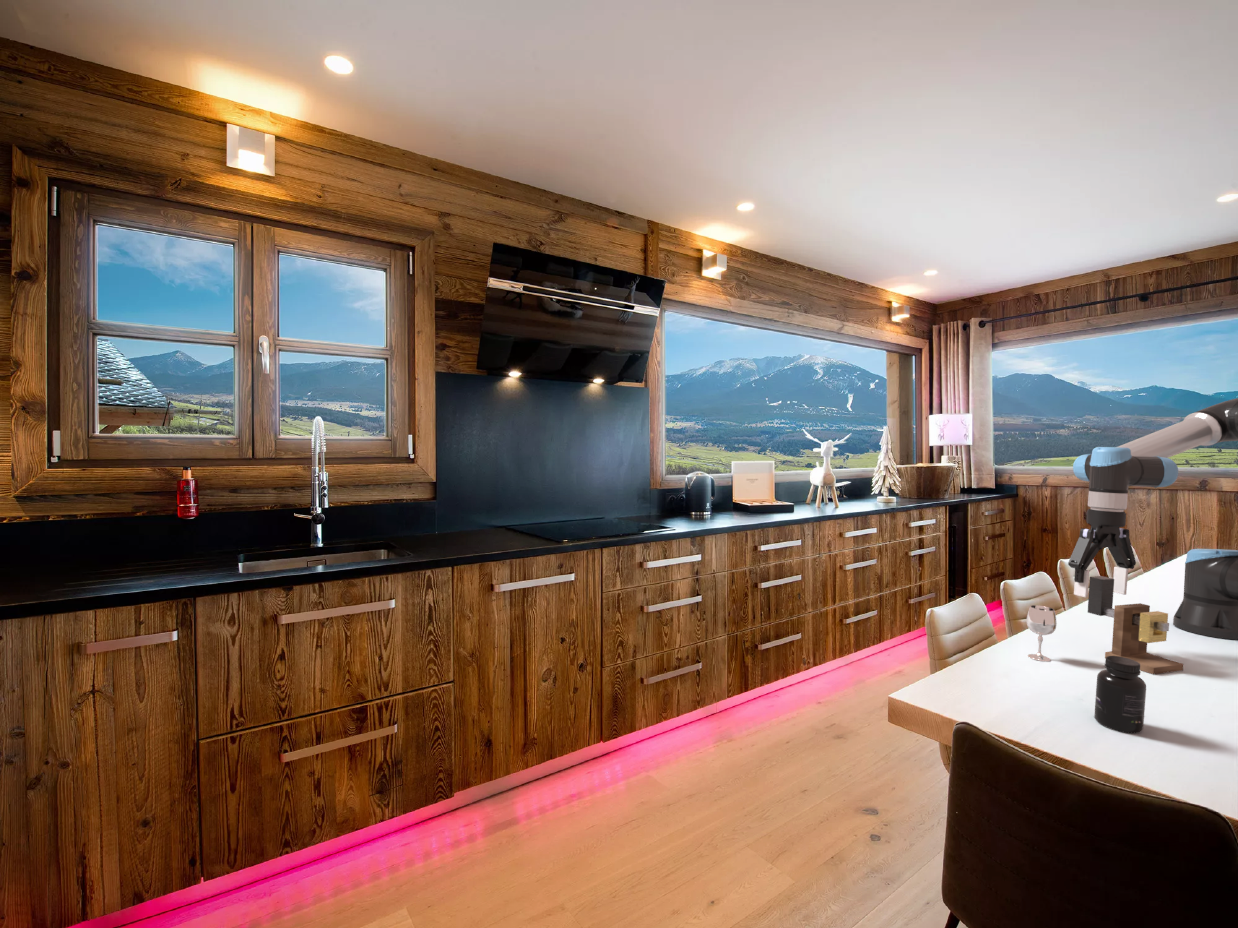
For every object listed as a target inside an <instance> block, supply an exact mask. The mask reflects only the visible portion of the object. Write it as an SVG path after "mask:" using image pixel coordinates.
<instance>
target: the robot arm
mask: <svg viewBox="0 0 1238 928" xmlns="http://www.w3.org/2000/svg"><path fill="white" fill-rule="evenodd" d="M1223 442H1238V398H1231V399H1228V400H1225V401H1222V402H1218V403H1216V404H1213V405H1211V406H1208V407H1205V408H1202V409H1200V410H1197V411H1195V412H1193V413H1189V414H1188V415H1186V416H1185V417H1184V419H1183V420H1182V421H1179V422H1177V423H1175V424H1172V425H1170V426H1166V427H1164V428H1162V429H1160V430H1156V431H1154V432H1152V433H1149V434H1146V435H1143V436H1141V437H1139V438H1137V439H1134V440H1131V441H1129V442H1126V443H1124V444H1121V445H1118V446H1116V447H1115V446H1114V447H1113V446H1096V447H1095V448H1093V449H1092V451H1091V453H1087V454H1082V455H1081V454H1080V455H1079V456H1078V457H1077V458H1075V460H1074V462H1073V465H1072V471H1073V474H1074V475H1075V477H1076V478H1077V479H1079V480H1080V481H1083V482H1089V484H1088V495H1087V497H1088V498H1087V507H1089V508H1088V509H1086V521H1085V522H1086V524H1088V525H1090V529H1088V528H1080V531H1079V537H1078V538H1077V541H1076V543H1075V546H1074V548H1073V551H1072V552H1071V555H1070V557H1069V560H1068V562H1067V565H1068V566H1069V567H1070V568H1072V569H1074V586H1073V595H1075V596H1078V597H1083V598H1089V583H1090V570H1088V568H1089V566H1090V565H1091V563H1092V562H1093V560H1094V558H1095V557H1096V556H1097V554H1098V553H1099V551H1101V550H1103V549H1104V548H1107V549H1108V551H1109V552H1110V554H1111V556H1112V559H1113V560H1114V562H1115V564H1116V565H1117V566H1114V567H1113V579H1114V591H1113V593H1116V594H1119V595H1127V588H1128V578H1129V569H1131V570H1133V569H1134V568H1135V566H1136V564H1137V562H1136V558H1135V554H1134V550H1133V546H1132V544H1131V543H1132V542H1131V540H1130V529H1127V528H1124V527H1125V526H1126V524H1127V523H1126V521H1127V513H1126V510H1127V508H1128V500H1129V499H1128V497H1129V496H1128V495H1129V494H1128V493H1129V487H1140V488H1141V487H1143V488H1144V487H1145V488H1155V489H1156V488H1164V487H1165V488H1166V487H1169V486H1172V485H1173V484H1174V483H1175V482H1176V481H1177V479H1178V477H1179V476H1178V475H1179V468H1178V465H1177V463H1176V462H1175V461H1174V460H1173V459H1171V457H1174V456H1176V455H1179V454H1182V453H1184V452H1187V451H1190V450H1192V449H1194V448H1197V447H1200V446H1203V447H1209V446H1213V445H1215V444H1218V443H1223ZM1182 597H1183V598H1182V600H1181V602H1180V603H1179V606H1178V608H1177V610H1176V612H1174V616H1173V617H1172V618H1173V619H1172V625H1173V626H1174V627H1175V628H1177V629H1181V630H1184V631H1186V632H1190V633H1194V634H1196V635H1202V636H1205V637H1211V638H1212V637H1213V638H1218V639H1225V640H1238V549H1237V550H1236V549H1218V548H1193V549H1190V550H1189V551H1187V553H1186V560H1185V563H1184V585H1183V596H1182Z"/></svg>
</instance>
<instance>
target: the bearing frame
mask: <svg viewBox="0 0 1238 928" xmlns="http://www.w3.org/2000/svg"><path fill="white" fill-rule="evenodd" d="M1114 609H1115V610H1114V618H1113V628H1112V629H1113V630H1112V639H1111V640H1112V642H1111V643H1112V644H1111V650H1110V651H1105V653H1104V659H1106V657H1107V656H1119V657H1124V658H1128V659H1132V660H1134V661H1137V662H1138V663H1140V672H1141V671H1142V672H1144V673H1147V674H1150V675H1153V676H1154V675H1159V674H1168V673H1173V672H1183V671H1184V663H1182V662H1179V661H1175V660H1171V659H1169V658H1166V657H1162V656H1159V655H1156V654H1153V653H1149V652H1148V643H1146V642H1143V641H1140V640H1139V625H1138V624H1134V623H1132V616H1133V614H1136V615H1140V613H1143V612H1151V611H1150V609H1151V606H1150V605H1149V604H1145V603H1131V604H1130V603H1128V604H1118V605H1117V604H1116V605H1114Z"/></svg>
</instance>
